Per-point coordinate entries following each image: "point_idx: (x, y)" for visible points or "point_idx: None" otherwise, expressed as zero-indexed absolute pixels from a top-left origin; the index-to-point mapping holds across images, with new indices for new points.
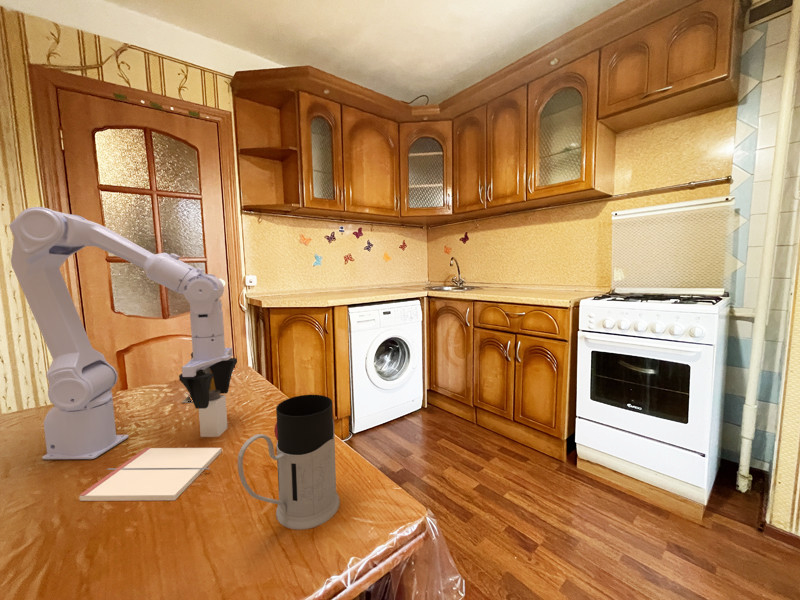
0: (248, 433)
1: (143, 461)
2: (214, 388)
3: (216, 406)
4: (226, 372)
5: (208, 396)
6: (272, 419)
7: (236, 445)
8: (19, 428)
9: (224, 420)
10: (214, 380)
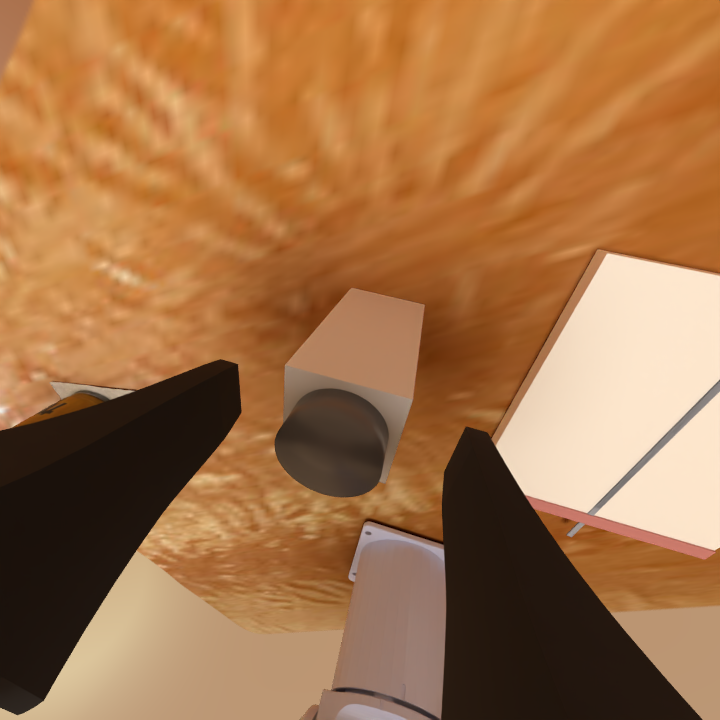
0: (430, 161)
1: (569, 480)
2: (74, 409)
3: (415, 377)
4: (78, 482)
5: (498, 487)
6: (274, 45)
7: (555, 190)
8: (298, 624)
9: (361, 308)
10: (178, 490)
